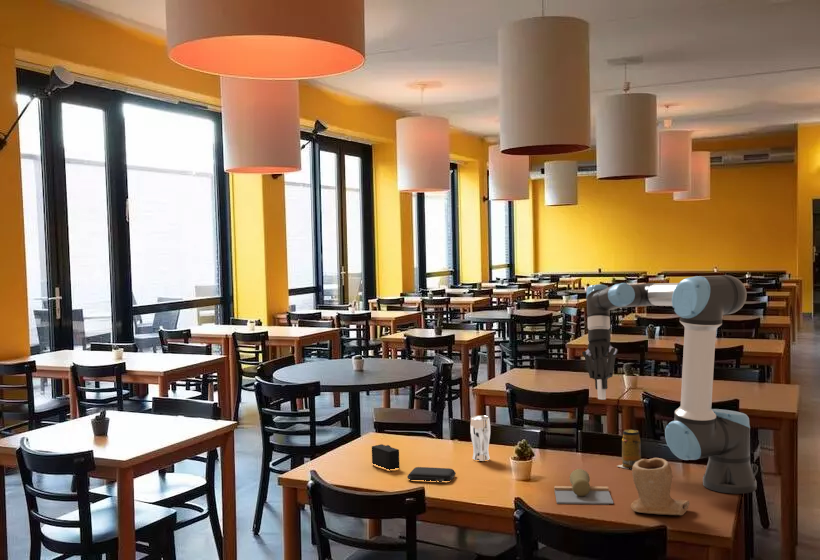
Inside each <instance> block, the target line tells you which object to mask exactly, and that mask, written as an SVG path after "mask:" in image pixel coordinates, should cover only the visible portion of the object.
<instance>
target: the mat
mask: <svg viewBox="0 0 820 560" xmlns="http://www.w3.org/2000/svg"><path fill="white" fill-rule="evenodd" d="M553 488H554V489H553V490H554V491H553V492H554V495H555V501H556V504H557V505H609V504H614V500H613V498H612V496H611V493H610V491H609V486H608V485H607V486H604V485H603V486H600V485H599V486H598V485H597V486H595V485H594V486H593V485H590V491H589V493H588V494H587V495H586V496H583V497H582V496H577V495H576V494H575V493H574V492H573V489H572V485H567V486H566V485H554V487H553Z"/></svg>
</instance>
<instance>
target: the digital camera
mask: <svg viewBox="0 0 820 560" xmlns="http://www.w3.org/2000/svg"><path fill="white" fill-rule="evenodd" d="M372 463H373V464H376V465H378V466H381V467H384V468H386V469H389V470H390V469H395V468H399V469H400V449H397V448H395V447H391V445H389V444H387V445H385V444H382V443H381V444H380V443H379V444H378V445H373V446H371V464H372Z"/></svg>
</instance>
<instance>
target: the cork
mask: <svg viewBox="0 0 820 560" xmlns="http://www.w3.org/2000/svg"><path fill="white" fill-rule="evenodd" d="M590 479H591V478H590V475H589V472H588V471H586V470H585V469H583V468H577V469H574V470H572V471H571V473H570V475H569V482H570V484H571V486H572V489H573V492H574V493H575V494H576V495H577V496H582V497H583V496H586V495H587V494H588V493H589V491H590V486H591V485H590Z"/></svg>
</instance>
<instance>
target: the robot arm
mask: <svg viewBox="0 0 820 560" xmlns="http://www.w3.org/2000/svg"><path fill="white" fill-rule="evenodd" d="M747 295H748V294H747V289H746V287H745V285H744V283H743V282H742V281H741V280H740V279H739V278H737V277H735V276H732V275H727V274H726V275H725V274H723V275H722V274H721V275H699V276H698V275H695V276H690V277H686V278H684V279H682V280H680V281H679V282H666V283H665V282H663V283H662V282H661V283H655V282H649V283H639V284H638V283H636V284H629V283H626V282H621V283H615V284H614V285H611V286H607V284H606V285H605V284H594V285H593V284H591V285H589V286H588V287H587V288H586V296H585V299H586V313H587V314H586V315H587V317H586V318H587V329H588V331H587V340H588V346H587V349H586V350H585V351H584V350H583V351H582V353H581V354H582V355H583V358H584V361H585V362H586V363H585V364H586V369H587V371H588V376H589V378H590V379H593V380H594V384H595V385H594V386H595V390H597V400H607V395H606V394H607V391H606V390H608V379H610V378H612V377H613V376H614V369H615V362H616V356H617V354H618V352H619V349H618V348H615V347H613V346H612V343H611V341H612V340H611V338H612V337H611V335H612V334H611V330H610V329H611V315H610V313H611V311H612V310H614V309H620V308H630V307H631V308H632V307H650V306H651V307H657V306H659V307H664V306H665V307H672V308H673V309H674V310H673V311H674V313H675V314H676V315H677V316H679V323H680V324H681V325H683V327H684V335H683V337H684V338H683V352H682V353H683V354H682V356H683V357H682V370H681V371H682V372H681V374H682V375H681V391H680V406H679V407H678V408H676V409H675V410H674V418H673V419H674V420H672V421H670V422H669V423H668V424H667V425H666V426H665V429H664V430H665V431H664V436H665V442H666V445H667V447H668V448H669V449H670V451H671V453H672V454H673V455H674V456H675V457H677V458H678V459H679V460H684V461H689V460H690V461H697V460H699V459H704V458H708V460H707V464H706V467H705V468H706V469H705V472H704V474H703V476H702V485H703V487H704V488H706V489H709V490H711V491H714V492H719V493H724V494H725V493H726V494H735V495H736V494H737V495H738V494H740V495H741V494H749V493H754V492H755V491H757V489H758V488H757V487H758V486H757V483H758V482H757V480H756V477H755V473H754V470H753V467H752V465H751V426H750V418H749V416H748V415H747V414H746V413H744V412H739V411H736V410H729V409H723V408H722V409H719V408H712V404H713V403H712V402H713V401H712V400H713V385H714V373H715V372H714V368H715V351H716V348H715V347H716V335H717V329H718V328H719V327H721V326H722V325H723V317H724V316H725V315H731V314H735V313H736V312H738V311H740V310H741V309H742V308H743V306H744V305H745V304H746V301H747Z"/></svg>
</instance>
